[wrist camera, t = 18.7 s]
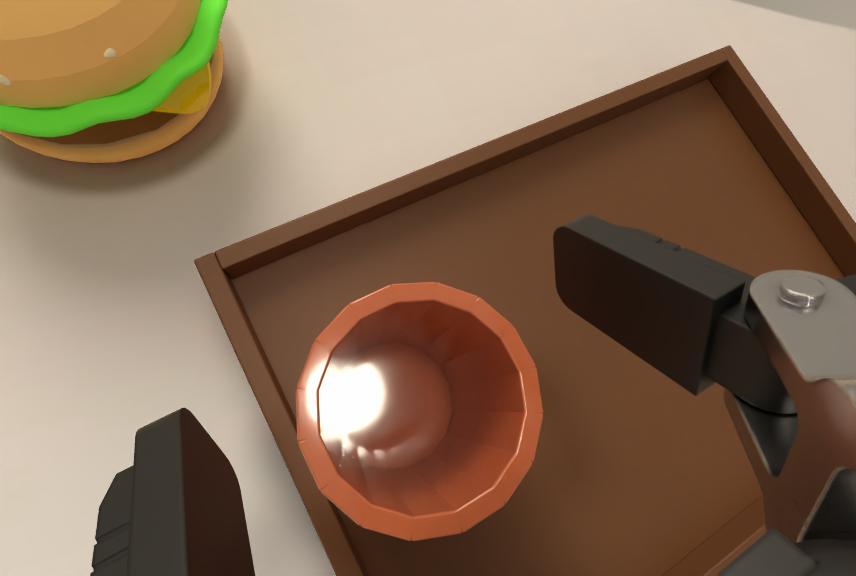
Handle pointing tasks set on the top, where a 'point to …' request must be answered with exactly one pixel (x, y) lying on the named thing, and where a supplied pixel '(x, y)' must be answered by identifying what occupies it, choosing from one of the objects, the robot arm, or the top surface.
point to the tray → (557, 319)
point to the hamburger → (107, 74)
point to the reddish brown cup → (418, 410)
